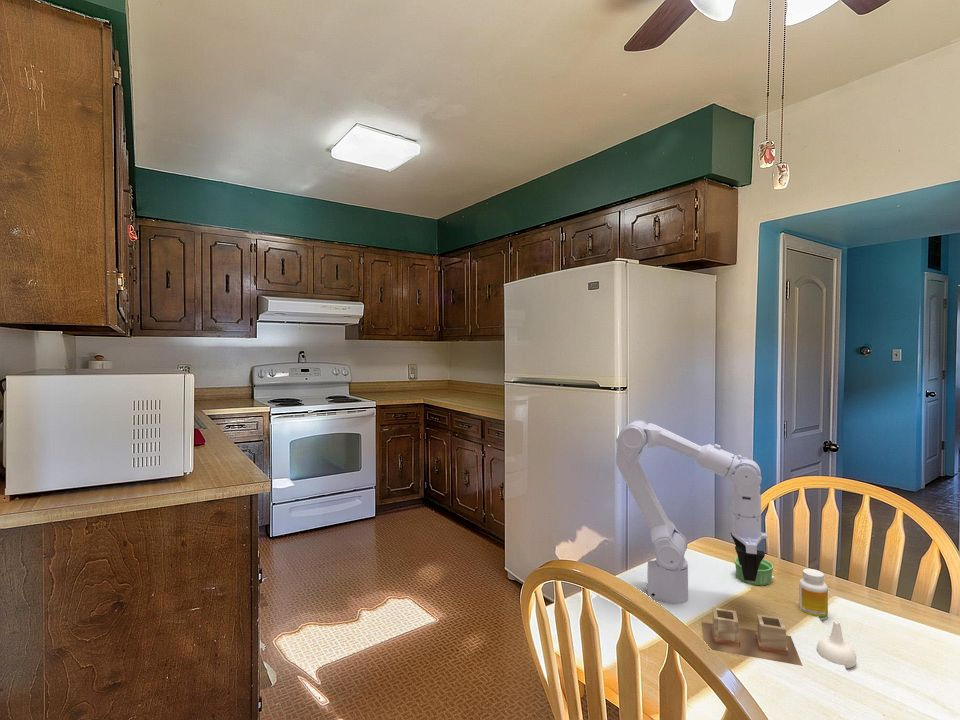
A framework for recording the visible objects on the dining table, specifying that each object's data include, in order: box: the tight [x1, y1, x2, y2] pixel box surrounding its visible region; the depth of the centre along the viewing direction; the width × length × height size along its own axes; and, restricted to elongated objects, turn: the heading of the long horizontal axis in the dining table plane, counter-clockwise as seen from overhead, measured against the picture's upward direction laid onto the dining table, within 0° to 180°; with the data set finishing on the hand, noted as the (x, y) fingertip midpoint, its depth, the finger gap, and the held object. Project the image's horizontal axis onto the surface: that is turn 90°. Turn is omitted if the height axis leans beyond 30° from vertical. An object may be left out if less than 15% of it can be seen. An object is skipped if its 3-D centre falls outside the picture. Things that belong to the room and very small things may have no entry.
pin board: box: [701, 621, 803, 666], centre depth 103 cm, size 17×10×4 cm, turn 69°
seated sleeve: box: [711, 607, 740, 647], centre depth 104 cm, size 5×5×5 cm
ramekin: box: [733, 556, 774, 587], centre depth 131 cm, size 9×9×4 cm
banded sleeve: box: [756, 613, 788, 655], centre depth 101 cm, size 5×5×5 cm
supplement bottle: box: [798, 568, 829, 621], centre depth 114 cm, size 5×5×10 cm
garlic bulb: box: [816, 619, 857, 669], centre depth 98 cm, size 6×6×8 cm
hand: (747, 572), depth 114 cm, fingers open, 7 cm apart
